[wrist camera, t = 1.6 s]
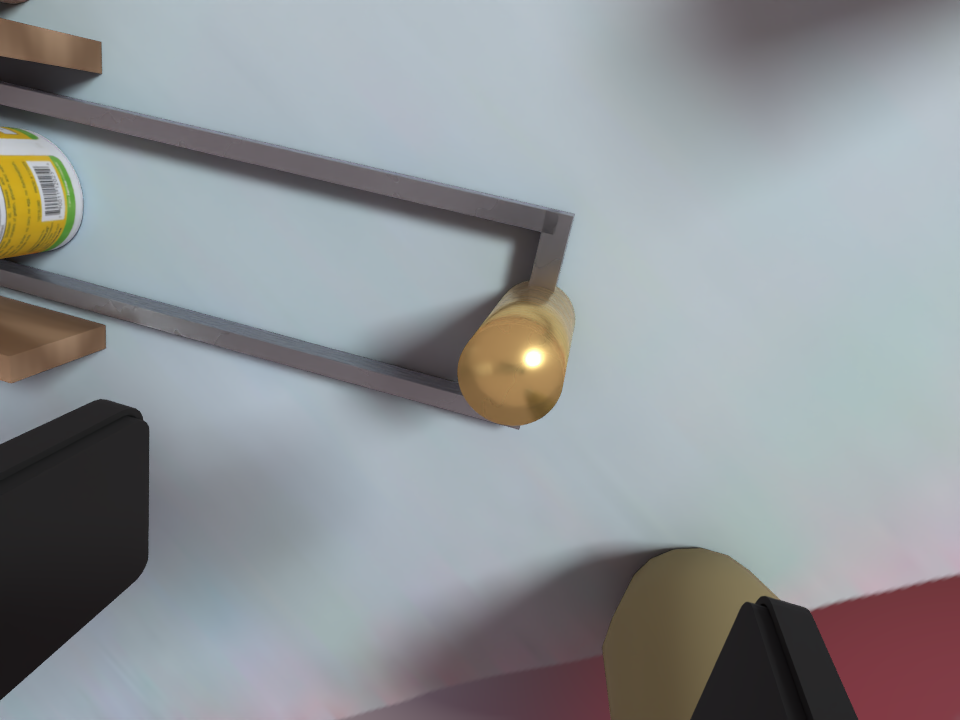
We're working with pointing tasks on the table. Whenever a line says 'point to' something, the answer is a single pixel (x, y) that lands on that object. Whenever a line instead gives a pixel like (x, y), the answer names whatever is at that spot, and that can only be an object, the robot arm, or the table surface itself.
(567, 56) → the table surface
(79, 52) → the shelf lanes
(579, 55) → the table surface
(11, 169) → the supplement bottle
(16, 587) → the robot arm
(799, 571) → the table surface
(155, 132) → the gray rectangular frame
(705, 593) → the squeeze bottle
